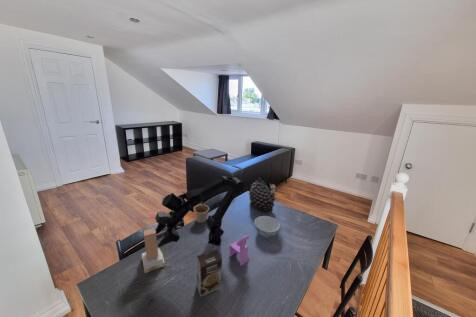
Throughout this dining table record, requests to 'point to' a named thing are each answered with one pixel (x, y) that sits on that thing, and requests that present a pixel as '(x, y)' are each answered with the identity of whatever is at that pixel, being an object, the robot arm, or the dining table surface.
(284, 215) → the dining table surface
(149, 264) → the top slab
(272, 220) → the chinaware
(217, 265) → the coffee box
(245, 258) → the toy chair
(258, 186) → the dark pinecone ornament
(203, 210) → the flower pot
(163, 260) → the bottom slab
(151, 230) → the pillar
